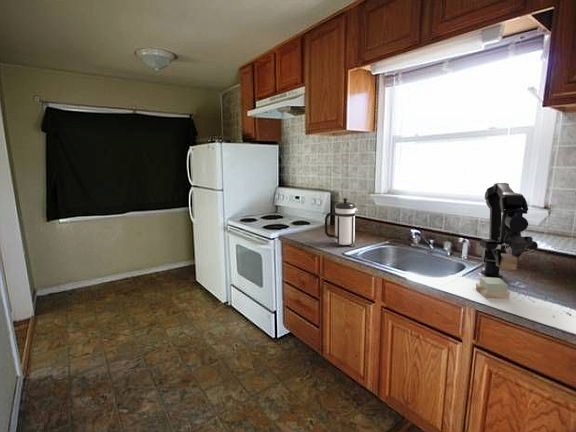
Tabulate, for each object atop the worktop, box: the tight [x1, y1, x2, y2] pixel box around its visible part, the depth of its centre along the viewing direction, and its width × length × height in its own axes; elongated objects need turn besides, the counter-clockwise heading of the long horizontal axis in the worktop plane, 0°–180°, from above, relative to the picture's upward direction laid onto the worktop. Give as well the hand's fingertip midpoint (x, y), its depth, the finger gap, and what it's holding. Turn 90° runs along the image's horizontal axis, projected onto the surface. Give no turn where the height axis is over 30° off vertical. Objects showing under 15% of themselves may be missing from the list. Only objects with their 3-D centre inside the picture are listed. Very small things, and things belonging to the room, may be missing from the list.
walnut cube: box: [496, 253, 519, 271], centre depth 126 cm, size 5×5×5 cm
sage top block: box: [479, 276, 509, 292], centre depth 126 cm, size 7×7×3 cm
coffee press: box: [324, 197, 359, 248], centre depth 198 cm, size 17×16×30 cm
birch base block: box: [475, 282, 511, 300], centre depth 126 cm, size 8×8×3 cm
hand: (505, 264), depth 126 cm, fingers closed on walnut cube, 5 cm apart
